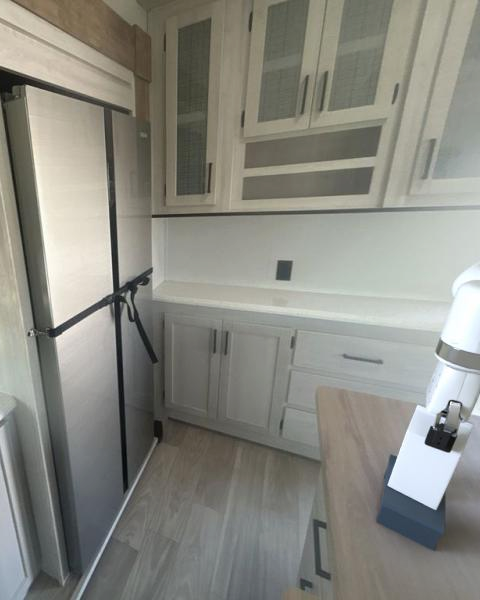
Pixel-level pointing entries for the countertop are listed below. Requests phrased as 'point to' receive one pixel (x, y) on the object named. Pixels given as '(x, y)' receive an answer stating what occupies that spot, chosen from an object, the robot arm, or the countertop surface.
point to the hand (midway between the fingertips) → (437, 432)
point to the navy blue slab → (410, 514)
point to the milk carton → (426, 461)
